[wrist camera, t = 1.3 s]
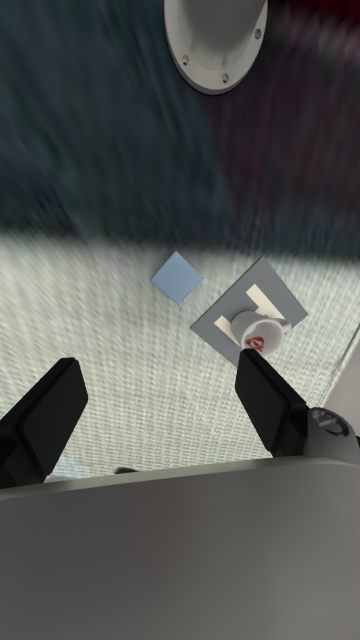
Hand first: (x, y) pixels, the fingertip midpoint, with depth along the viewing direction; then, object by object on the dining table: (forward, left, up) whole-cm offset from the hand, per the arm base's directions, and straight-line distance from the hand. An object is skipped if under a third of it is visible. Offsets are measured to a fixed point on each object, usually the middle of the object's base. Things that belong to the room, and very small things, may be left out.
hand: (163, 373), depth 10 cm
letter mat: (-7, +19, -25) cm, 32 cm away
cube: (-3, 0, -25) cm, 25 cm away
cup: (-7, +19, -25) cm, 32 cm away
